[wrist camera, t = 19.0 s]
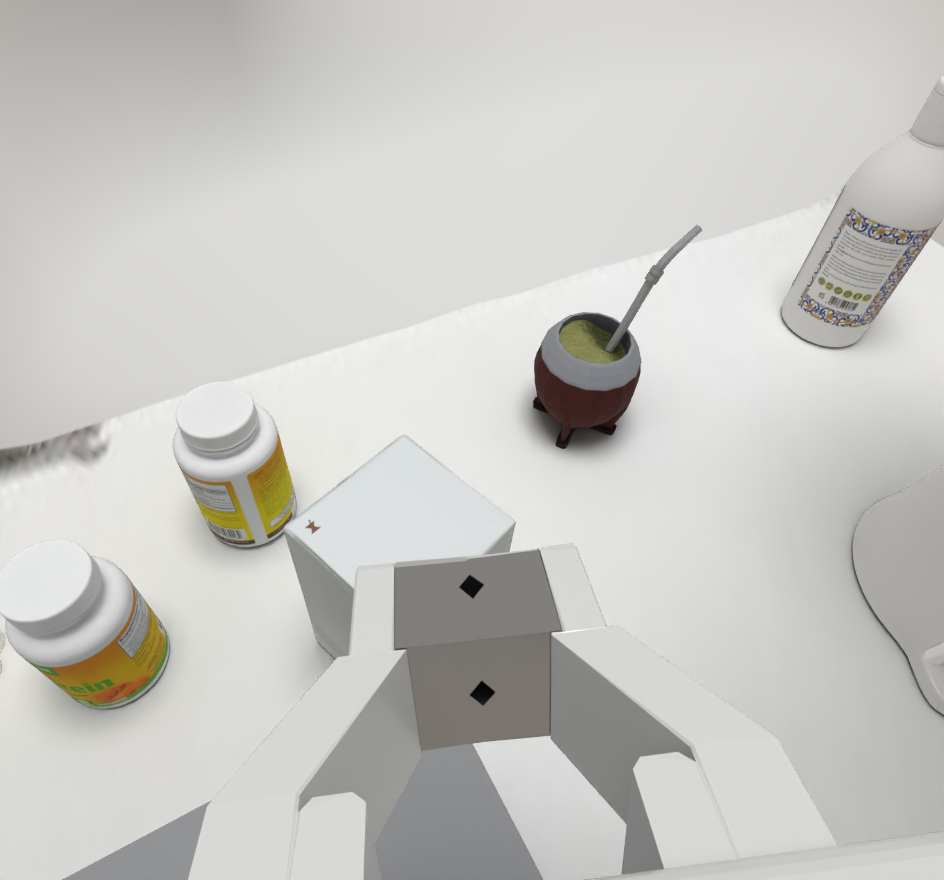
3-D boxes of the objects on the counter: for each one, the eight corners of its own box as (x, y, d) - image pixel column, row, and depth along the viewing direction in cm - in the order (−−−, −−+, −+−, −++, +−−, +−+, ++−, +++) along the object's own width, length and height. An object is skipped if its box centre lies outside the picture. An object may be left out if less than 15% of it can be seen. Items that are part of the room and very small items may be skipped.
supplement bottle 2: (290, 469, 46) (261, 361, 38) (304, 538, 42) (277, 436, 34) (203, 489, 44) (155, 381, 36) (212, 561, 41) (161, 461, 33)
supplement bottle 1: (48, 707, 35) (-54, 633, 28) (90, 610, 39) (9, 521, 31) (151, 715, 35) (77, 643, 28) (185, 617, 39) (127, 530, 31)
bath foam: (871, 354, 56) (1044, 114, 40) (788, 346, 56) (928, 102, 41) (849, 300, 60) (998, 64, 45) (771, 292, 60) (893, 54, 45)
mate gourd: (512, 434, 49) (540, 262, 37) (548, 364, 53) (584, 191, 41) (611, 471, 47) (674, 303, 35) (639, 396, 52) (703, 225, 40)
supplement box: (404, 734, 35) (397, 640, 26) (313, 640, 38) (275, 523, 28) (496, 636, 39) (521, 521, 29) (406, 557, 42) (402, 427, 32)
